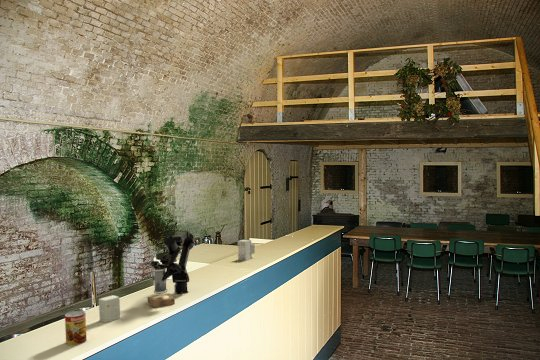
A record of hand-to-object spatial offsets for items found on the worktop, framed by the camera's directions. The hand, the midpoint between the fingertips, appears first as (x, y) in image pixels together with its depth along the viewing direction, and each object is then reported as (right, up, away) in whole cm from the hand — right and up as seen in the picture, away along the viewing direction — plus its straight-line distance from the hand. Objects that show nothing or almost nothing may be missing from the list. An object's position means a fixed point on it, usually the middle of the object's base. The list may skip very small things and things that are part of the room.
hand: (158, 280), depth 236 cm
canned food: (-21, -15, -51) cm, 57 cm away
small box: (-18, -14, -23) cm, 32 cm away
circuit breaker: (+41, -10, +119) cm, 126 cm away
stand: (+1, -13, +1) cm, 13 cm away
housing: (+1, -7, +1) cm, 7 cm away
